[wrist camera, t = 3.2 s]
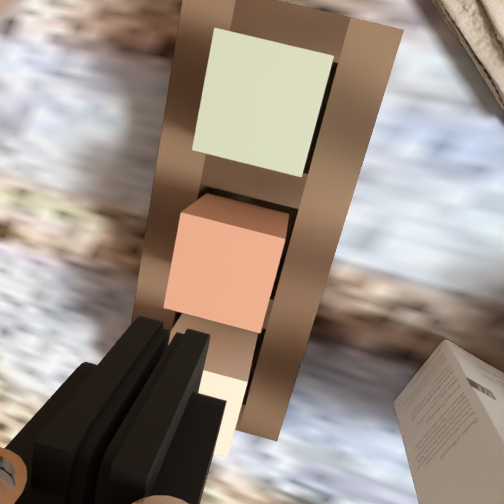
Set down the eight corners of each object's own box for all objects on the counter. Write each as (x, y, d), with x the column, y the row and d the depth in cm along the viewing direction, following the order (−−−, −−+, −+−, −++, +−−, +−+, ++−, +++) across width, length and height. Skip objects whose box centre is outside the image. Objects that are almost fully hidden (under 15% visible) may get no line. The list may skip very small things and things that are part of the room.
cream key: (241, 395, 26) (227, 457, 21) (170, 376, 26) (140, 433, 21) (258, 331, 24) (247, 382, 19) (183, 311, 24) (154, 357, 20)
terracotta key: (268, 290, 23) (260, 333, 19) (191, 270, 24) (163, 307, 19) (289, 213, 22) (285, 238, 17) (206, 193, 22) (180, 212, 18)
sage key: (301, 165, 21) (301, 177, 17) (216, 143, 22) (191, 149, 17) (326, 71, 20) (334, 55, 15) (235, 50, 20) (214, 27, 15)
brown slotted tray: (279, 407, 29) (276, 441, 26) (138, 369, 29) (119, 398, 26) (389, 42, 22) (403, 29, 19) (201, -2, 22) (185, -21, 19)
